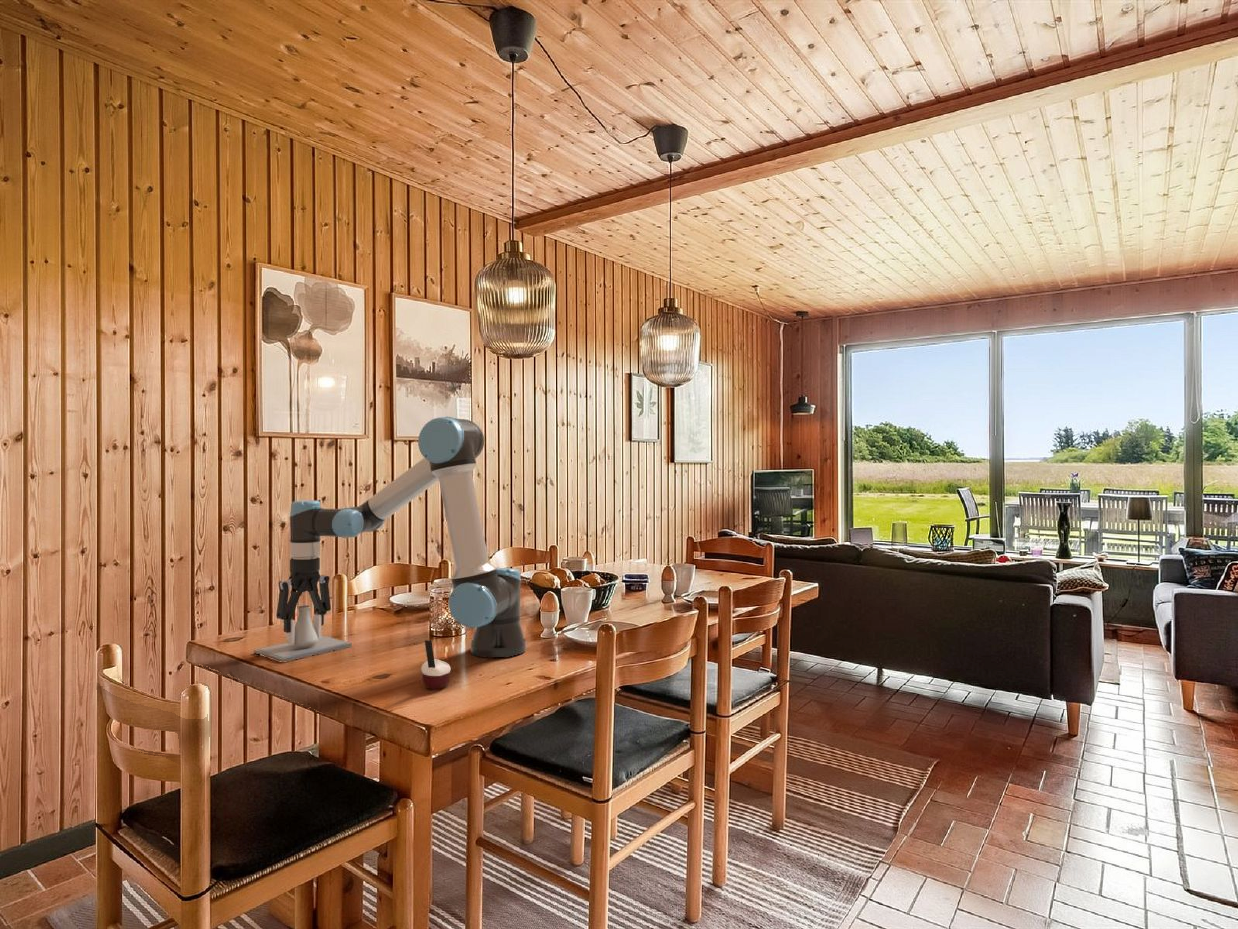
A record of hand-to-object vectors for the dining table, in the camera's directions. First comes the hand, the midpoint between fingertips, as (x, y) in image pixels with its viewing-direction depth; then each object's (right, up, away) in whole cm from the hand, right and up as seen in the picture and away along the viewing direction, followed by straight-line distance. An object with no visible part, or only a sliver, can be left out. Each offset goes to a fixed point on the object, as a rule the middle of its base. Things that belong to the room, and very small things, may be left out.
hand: (304, 640), depth 192 cm
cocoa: (+43, -4, -29) cm, 52 cm away
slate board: (0, -3, 0) cm, 3 cm away
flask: (0, -1, 0) cm, 1 cm away
